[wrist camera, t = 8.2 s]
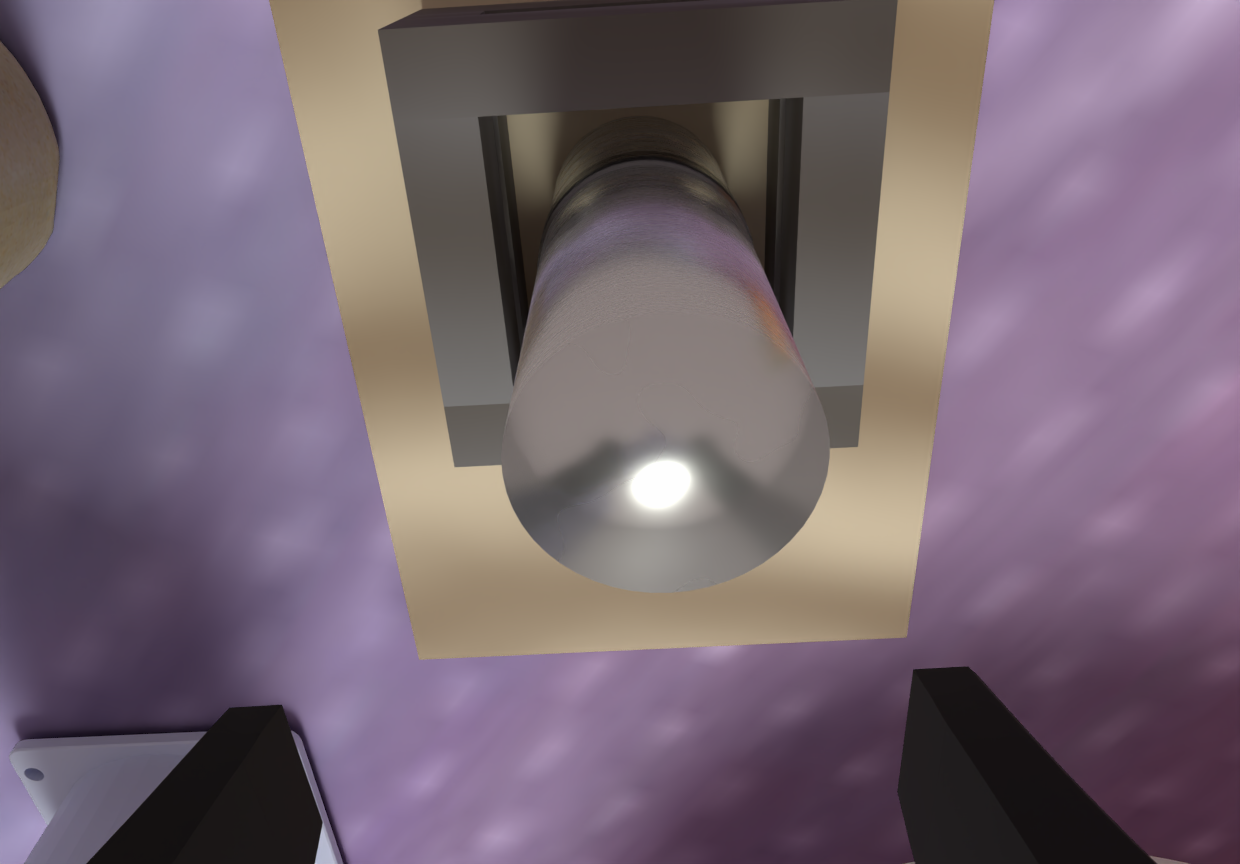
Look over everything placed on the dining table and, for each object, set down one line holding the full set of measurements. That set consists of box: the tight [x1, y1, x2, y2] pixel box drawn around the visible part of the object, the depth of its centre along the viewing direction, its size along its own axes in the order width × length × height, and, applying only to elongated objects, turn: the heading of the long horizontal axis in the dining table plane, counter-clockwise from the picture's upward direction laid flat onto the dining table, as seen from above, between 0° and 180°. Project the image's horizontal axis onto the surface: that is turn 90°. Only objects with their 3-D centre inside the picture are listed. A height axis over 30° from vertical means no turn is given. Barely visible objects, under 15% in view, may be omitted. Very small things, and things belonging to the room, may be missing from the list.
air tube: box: [501, 116, 830, 593], centre depth 13 cm, size 3×3×9 cm
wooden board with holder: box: [269, 0, 994, 660], centre depth 17 cm, size 15×12×4 cm
